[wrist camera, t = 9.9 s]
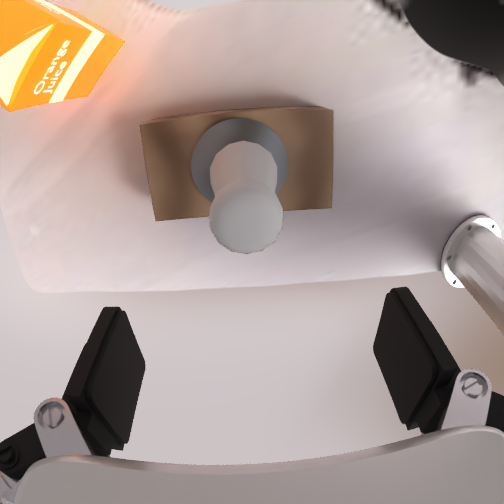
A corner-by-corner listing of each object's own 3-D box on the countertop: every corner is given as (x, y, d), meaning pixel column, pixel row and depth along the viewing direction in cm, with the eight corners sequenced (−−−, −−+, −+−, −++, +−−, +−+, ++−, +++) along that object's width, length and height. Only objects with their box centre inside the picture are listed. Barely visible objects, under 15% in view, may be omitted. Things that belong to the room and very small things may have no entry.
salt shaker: (287, 162, 29) (320, 218, 17) (248, 207, 31) (256, 286, 19) (237, 124, 27) (236, 153, 15) (199, 172, 29) (174, 235, 17)
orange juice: (87, 97, 29) (-39, 129, 11) (39, 64, 26) (-88, 80, 8) (126, 40, 26) (13, 9, 9) (74, 9, 23) (-45, -20, 6)
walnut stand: (320, 106, 31) (334, 110, 26) (320, 192, 36) (333, 210, 31) (153, 119, 31) (138, 125, 26) (165, 203, 36) (154, 223, 31)
